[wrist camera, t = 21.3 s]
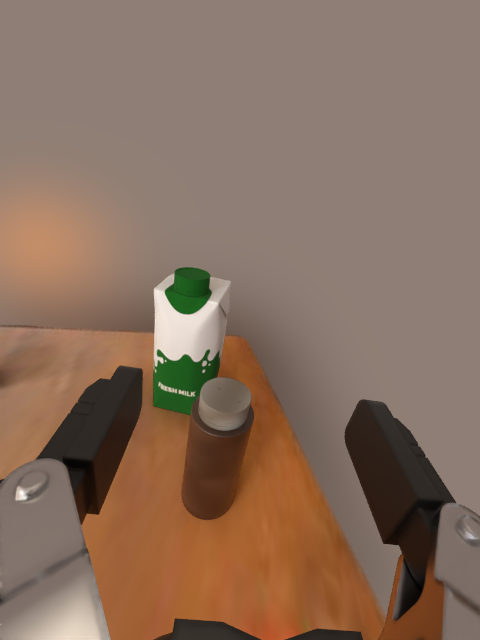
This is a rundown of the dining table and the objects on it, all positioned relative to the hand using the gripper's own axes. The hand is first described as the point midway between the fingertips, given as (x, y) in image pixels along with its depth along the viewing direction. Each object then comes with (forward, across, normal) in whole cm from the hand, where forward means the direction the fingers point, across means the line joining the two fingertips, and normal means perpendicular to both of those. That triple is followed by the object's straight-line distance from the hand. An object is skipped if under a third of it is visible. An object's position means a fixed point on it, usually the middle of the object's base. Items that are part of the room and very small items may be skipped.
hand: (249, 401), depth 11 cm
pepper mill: (+11, 0, +24) cm, 26 cm away
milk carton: (+25, +5, +24) cm, 35 cm away
